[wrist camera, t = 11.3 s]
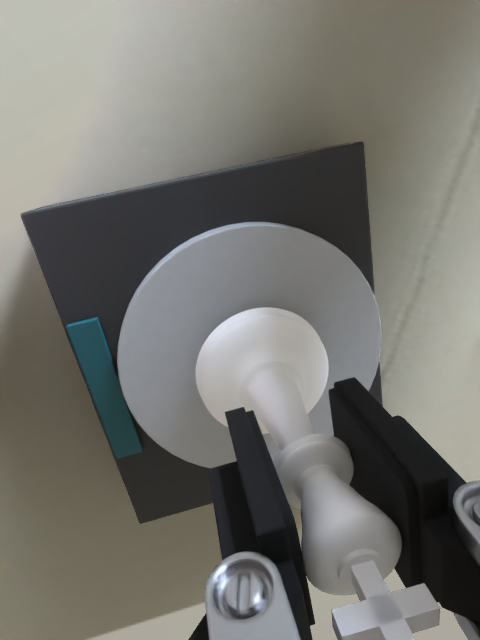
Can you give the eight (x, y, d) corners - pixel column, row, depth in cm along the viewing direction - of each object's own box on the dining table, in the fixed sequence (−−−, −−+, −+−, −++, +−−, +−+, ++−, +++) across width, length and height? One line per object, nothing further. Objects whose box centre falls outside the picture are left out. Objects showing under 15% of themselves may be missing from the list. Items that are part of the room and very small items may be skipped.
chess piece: (327, 410, 16) (540, 718, 7) (207, 438, 16) (271, 810, 7) (319, 295, 15) (589, 509, 5) (183, 321, 14) (225, 610, 5)
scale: (40, 207, 16) (10, 216, 13) (336, 144, 17) (375, 139, 14) (142, 485, 21) (138, 540, 18) (363, 423, 22) (395, 464, 19)
